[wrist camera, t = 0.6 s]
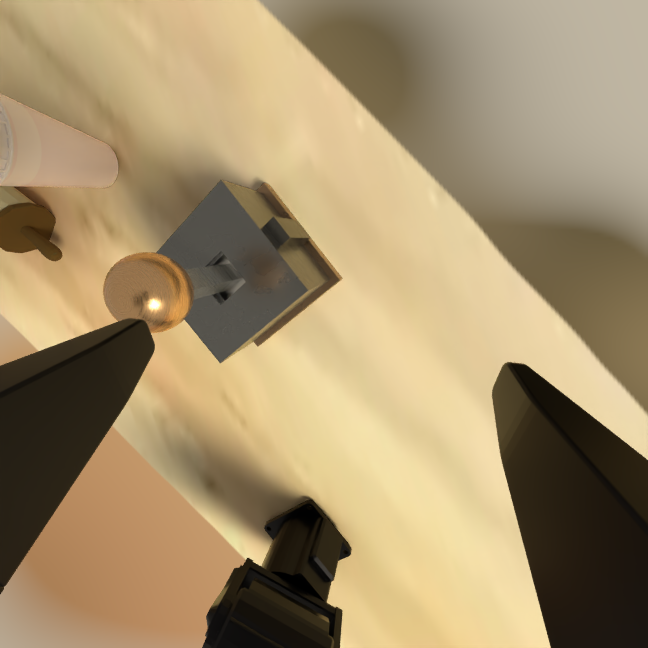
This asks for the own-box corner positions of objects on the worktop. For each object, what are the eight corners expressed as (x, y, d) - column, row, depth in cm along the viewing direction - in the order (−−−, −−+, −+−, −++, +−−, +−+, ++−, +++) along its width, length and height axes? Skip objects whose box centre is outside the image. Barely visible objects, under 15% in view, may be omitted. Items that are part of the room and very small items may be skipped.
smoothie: (57, 147, 29) (-241, 70, 15) (107, 106, 27) (-189, -23, 13) (94, 217, 29) (-160, 199, 16) (144, 182, 27) (-99, 130, 14)
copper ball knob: (233, 333, 23) (125, 392, 14) (181, 268, 23) (37, 286, 14) (293, 283, 21) (209, 314, 12) (236, 211, 21) (109, 190, 12)
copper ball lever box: (262, 342, 28) (220, 373, 22) (196, 260, 28) (133, 266, 22) (345, 276, 25) (323, 288, 19) (272, 182, 25) (224, 162, 18)
